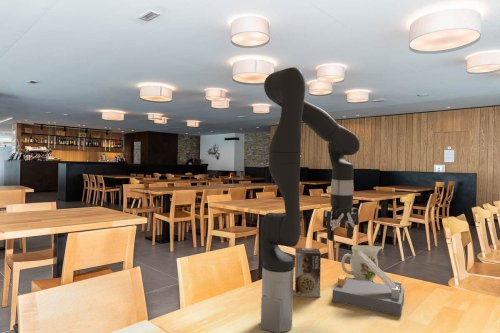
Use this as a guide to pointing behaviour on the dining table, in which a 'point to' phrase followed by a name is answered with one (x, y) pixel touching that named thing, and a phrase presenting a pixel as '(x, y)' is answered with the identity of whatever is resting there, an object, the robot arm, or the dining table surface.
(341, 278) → the block
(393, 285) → the metal hinged lever
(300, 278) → the coffee box
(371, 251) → the pitcher
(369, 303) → the block
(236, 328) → the dining table surface
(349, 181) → the robot arm
